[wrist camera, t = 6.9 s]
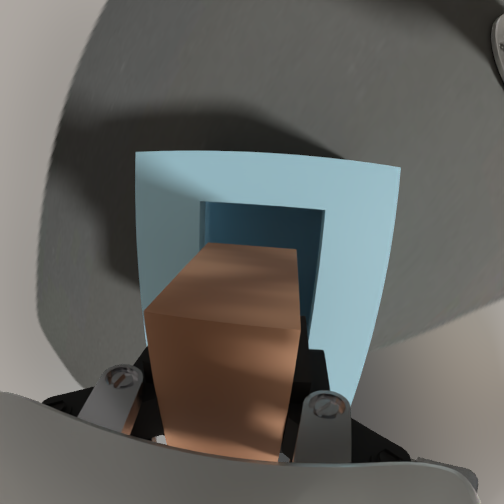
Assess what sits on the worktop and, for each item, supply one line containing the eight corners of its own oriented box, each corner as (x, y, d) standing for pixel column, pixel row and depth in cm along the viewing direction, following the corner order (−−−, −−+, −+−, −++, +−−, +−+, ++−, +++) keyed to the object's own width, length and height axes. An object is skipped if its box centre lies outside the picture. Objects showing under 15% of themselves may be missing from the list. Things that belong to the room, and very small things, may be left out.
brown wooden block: (296, 249, 12) (300, 329, 6) (280, 386, 14) (271, 489, 8) (208, 242, 12) (143, 311, 7) (210, 378, 14) (174, 474, 9)
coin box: (354, 164, 22) (400, 167, 12) (332, 329, 26) (348, 412, 16) (197, 154, 23) (135, 151, 13) (196, 317, 27) (154, 391, 17)
